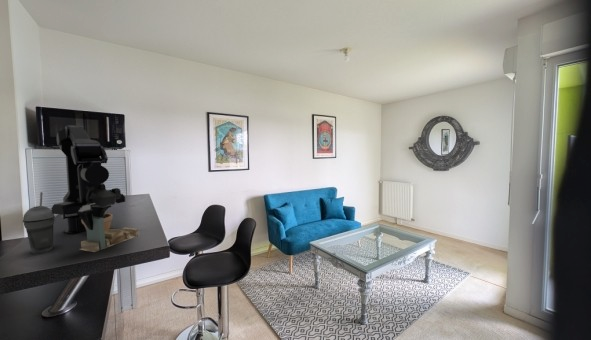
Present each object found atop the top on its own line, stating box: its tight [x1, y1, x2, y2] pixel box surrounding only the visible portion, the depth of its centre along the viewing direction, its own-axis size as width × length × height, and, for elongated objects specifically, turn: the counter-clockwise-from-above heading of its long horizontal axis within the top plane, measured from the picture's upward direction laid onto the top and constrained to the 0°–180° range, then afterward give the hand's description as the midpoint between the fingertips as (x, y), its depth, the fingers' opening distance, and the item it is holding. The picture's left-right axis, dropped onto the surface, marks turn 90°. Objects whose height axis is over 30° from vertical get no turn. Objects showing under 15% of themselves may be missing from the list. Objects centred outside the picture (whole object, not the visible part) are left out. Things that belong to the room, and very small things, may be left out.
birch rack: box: [79, 227, 140, 253], centre depth 88 cm, size 16×7×4 cm, turn 162°
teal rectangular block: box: [85, 217, 107, 250], centre depth 82 cm, size 2×6×10 cm, turn 72°
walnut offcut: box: [109, 235, 126, 246], centre depth 88 cm, size 5×6×2 cm
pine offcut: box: [104, 228, 124, 239], centre depth 87 cm, size 4×5×2 cm
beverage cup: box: [22, 191, 56, 255], centre depth 80 cm, size 7×7×20 cm
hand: (94, 228), depth 82 cm, fingers closed on teal rectangular block, 2 cm apart
